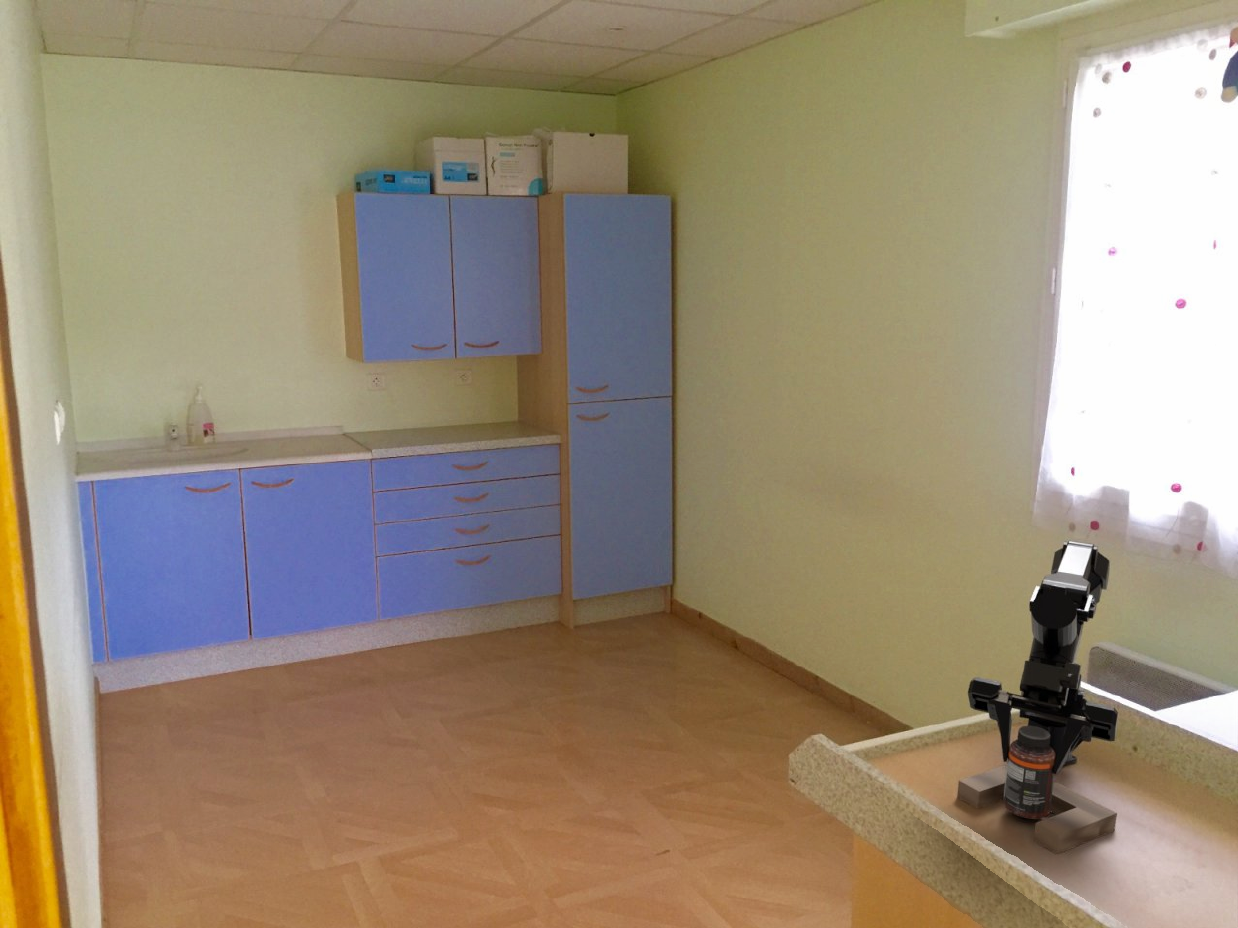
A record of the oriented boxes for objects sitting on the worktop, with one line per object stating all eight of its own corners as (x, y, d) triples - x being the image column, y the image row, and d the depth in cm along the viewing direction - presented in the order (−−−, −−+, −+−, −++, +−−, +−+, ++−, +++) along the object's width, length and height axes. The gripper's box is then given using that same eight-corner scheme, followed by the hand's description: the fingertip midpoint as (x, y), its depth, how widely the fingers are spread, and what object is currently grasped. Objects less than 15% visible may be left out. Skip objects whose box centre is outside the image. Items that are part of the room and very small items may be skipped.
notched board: (1013, 777, 151) (1015, 761, 150) (1114, 830, 138) (1117, 812, 137) (957, 796, 145) (958, 780, 144) (1057, 853, 131) (1059, 835, 131)
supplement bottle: (1034, 796, 143) (1044, 720, 141) (1058, 820, 138) (1068, 741, 135) (994, 798, 143) (1003, 722, 140) (1016, 822, 137) (1025, 742, 134)
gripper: (977, 621, 143) (952, 725, 136) (1126, 650, 134) (1108, 763, 127) (982, 657, 152) (959, 757, 144) (1123, 686, 143) (1105, 794, 135)
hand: (1029, 767), depth 138 cm, fingers closed on supplement bottle, 6 cm apart
